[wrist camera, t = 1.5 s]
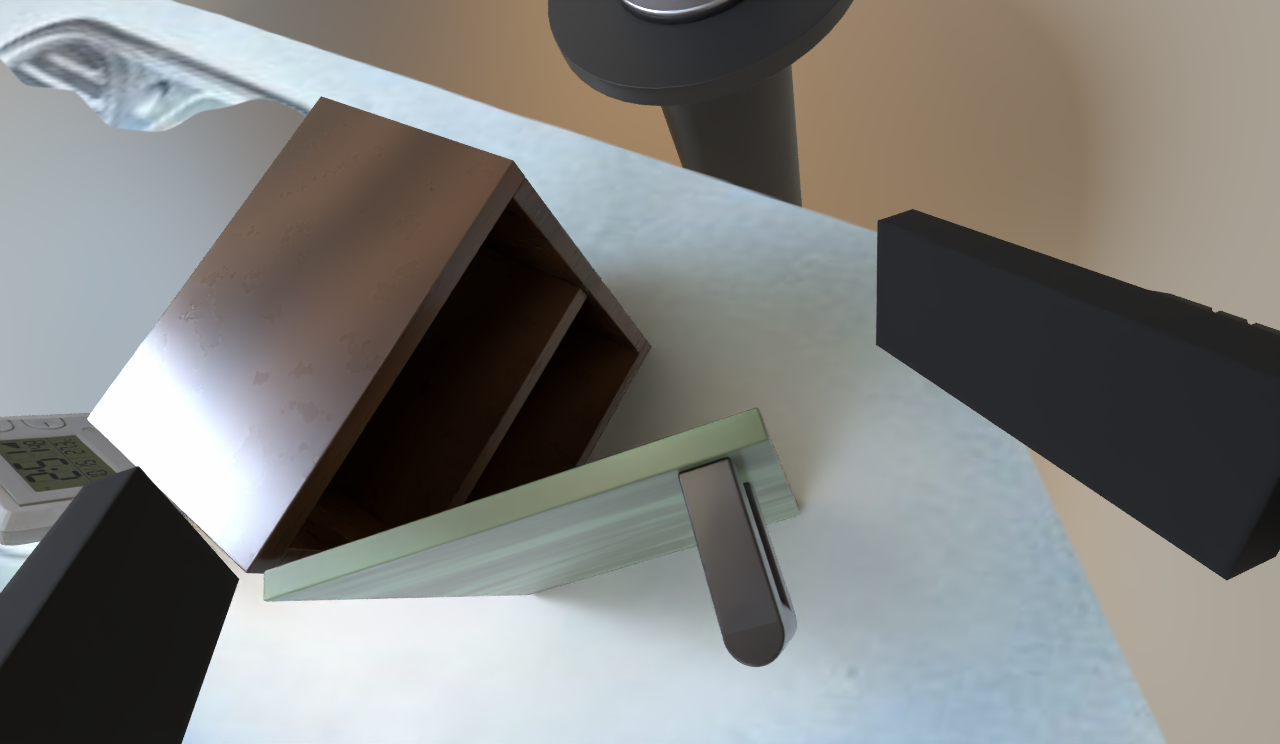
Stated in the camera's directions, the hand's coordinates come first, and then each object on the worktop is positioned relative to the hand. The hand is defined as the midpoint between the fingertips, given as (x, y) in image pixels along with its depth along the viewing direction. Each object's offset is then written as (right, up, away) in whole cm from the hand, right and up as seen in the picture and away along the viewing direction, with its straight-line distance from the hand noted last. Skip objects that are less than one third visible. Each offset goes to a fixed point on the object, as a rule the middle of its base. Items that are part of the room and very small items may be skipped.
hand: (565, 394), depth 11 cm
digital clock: (-41, -9, +39) cm, 57 cm away
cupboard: (-7, -3, +30) cm, 31 cm away
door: (+3, -12, +23) cm, 26 cm away
